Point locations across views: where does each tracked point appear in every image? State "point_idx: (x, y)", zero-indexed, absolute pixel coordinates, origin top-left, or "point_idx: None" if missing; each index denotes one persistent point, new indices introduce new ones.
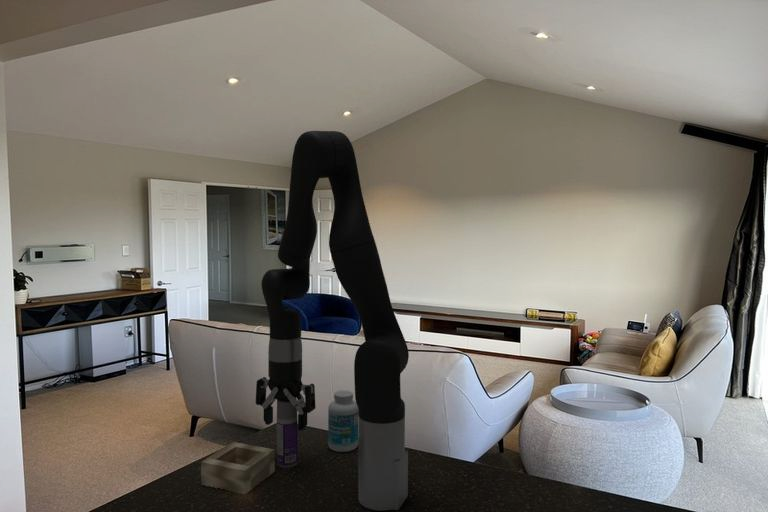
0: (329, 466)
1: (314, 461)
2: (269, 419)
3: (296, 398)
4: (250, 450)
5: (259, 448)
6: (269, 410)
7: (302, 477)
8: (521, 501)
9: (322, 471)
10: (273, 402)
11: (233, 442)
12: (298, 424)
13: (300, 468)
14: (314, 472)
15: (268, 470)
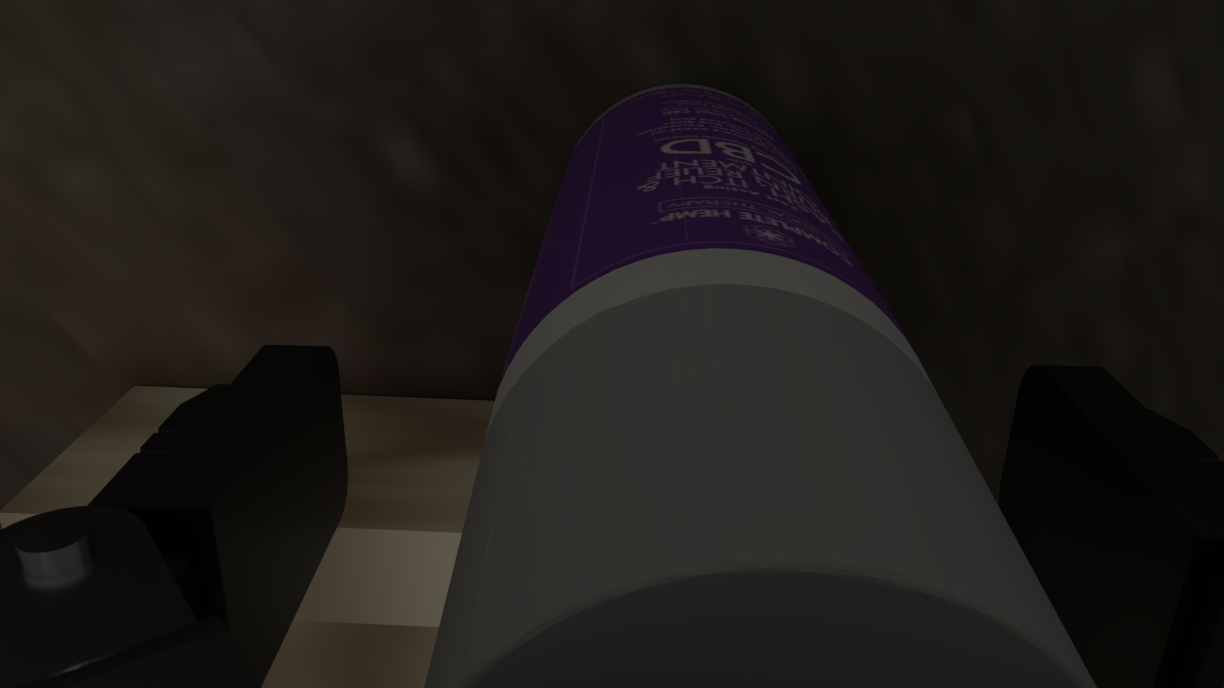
0: (1201, 107)
1: (975, 43)
2: (317, 497)
3: (1088, 685)
4: (364, 617)
5: (443, 570)
6: (252, 628)
7: (973, 426)
8: None
9: (1148, 248)
10: (178, 596)
11: (12, 523)
12: (1050, 589)
13: (876, 263)
14: (1064, 296)
15: None
